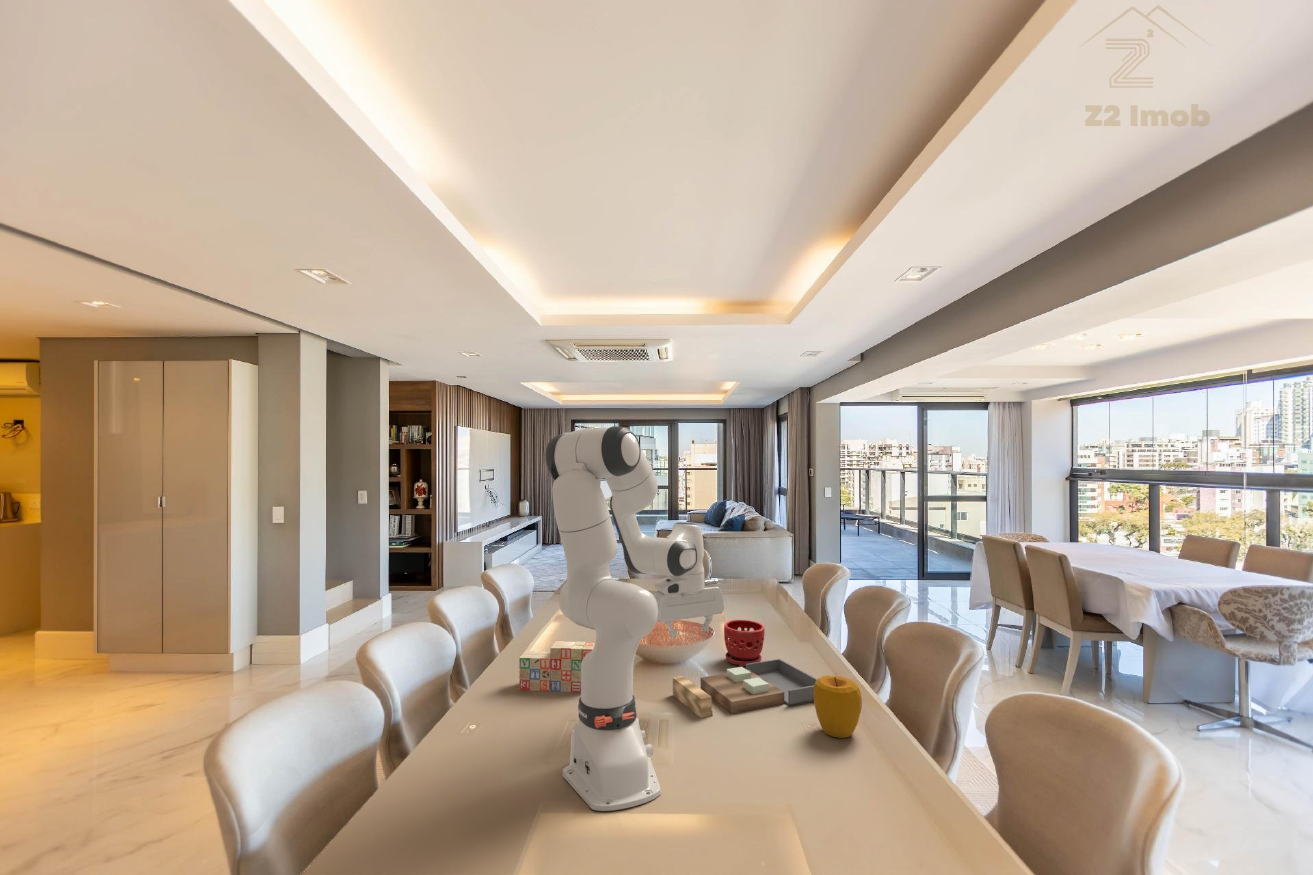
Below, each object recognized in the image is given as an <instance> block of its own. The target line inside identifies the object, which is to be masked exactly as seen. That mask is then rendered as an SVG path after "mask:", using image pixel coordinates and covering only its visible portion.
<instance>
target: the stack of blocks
mask: <svg viewBox="0 0 1313 875" xmlns="http://www.w3.org/2000/svg"><path fill="white" fill-rule="evenodd" d="M595 643H596V642H586V641H558V640H557V641H555V642H554V643H553V644H552V645H551V647H550V649H549V650H550V651H544V650H543V651H540V650H536V651H535V650H526V651H525V652H524V653H523V654H522V655H520V657H519V664H518V665H519V666H518V668H519V676H518V678H519V690H520V691H533V692H535V691H537V692H539V691H540V692H558V693H559V692H565V693H569V692H570V693H581V663H582V660H583V658H584V657H585V656H586V655H587V654H588V653H589V652H591V651H592V650H593V649H594V646H595Z"/></svg>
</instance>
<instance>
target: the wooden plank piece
mask: <svg viewBox="0 0 1313 875" xmlns="http://www.w3.org/2000/svg"><path fill="white" fill-rule="evenodd" d="M672 696H673V697H674V698H676V699H678V701H679V702H681V703H682V704H684V705H685V706H686V707H687V709H690V711H692V712H693V713H694V714H695V715H696V716H698V717H699V718H701V719H703V718H708V717H713V709H712V700H713V698H712V697H711V696H710V695H708V694H707V693H706V692H704V691H703V690H702V689H701V687H699V686H698V685H696V684H695V683H693V682H692V681H691V680H689V679H688V678H686V677H685V676H684V675H679V676H674V677H672Z"/></svg>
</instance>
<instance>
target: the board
mask: <svg viewBox="0 0 1313 875" xmlns="http://www.w3.org/2000/svg"><path fill="white" fill-rule="evenodd" d="M748 671H749V672H751V671H750V670H748ZM758 677H759V676H758V675H756V674H755V673H753V672H751V679H752V678H758ZM759 678H760V679H762V680H764V679H763V678H761V677H759ZM764 681H765V682H767V681H766V680H764ZM767 683H768V684H769V691H768V692H763V693H758V694H752V693H750V692H749V691H747V690H746V689H744V688H743V681H741V682H734V681H733V680H732V679H730V678H729V677H727V672H725V673H721V674H716V675H709V676H702V677H700V689H701V690H703V691H704V692H706V693H707V694H708V695H710V696H711V698H712V700H714V701H716V702H717V703H718V704H719V705H721V706H722V707H723V708H724V709H725V710H727V711H728V712H729V713H730V714H731V715H733V714H738V713H739V714H740V713H744V712H749V711H753V710H759V709H764V708H769V707H775V706H779V705H784V704H786V703H785V701H784V692H783V691H782V690H780V689H779V688H777V687H775V686H774V685H772V684H771V683H769V682H767Z"/></svg>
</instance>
